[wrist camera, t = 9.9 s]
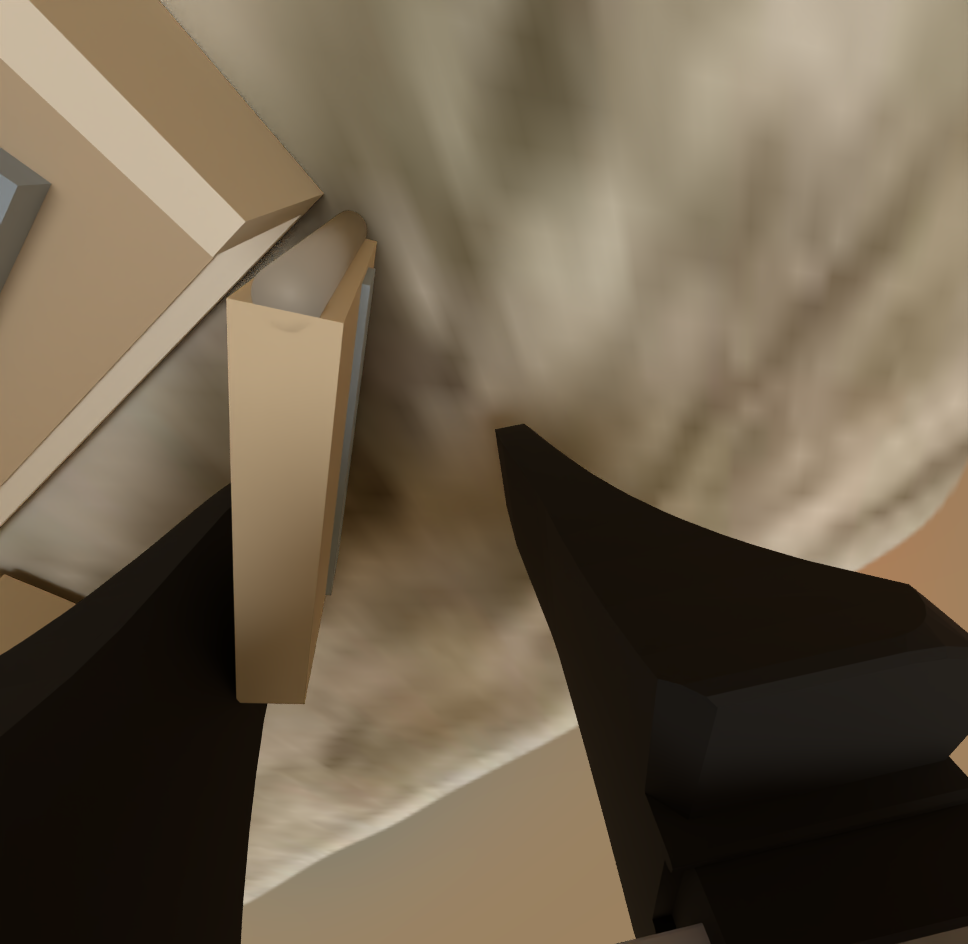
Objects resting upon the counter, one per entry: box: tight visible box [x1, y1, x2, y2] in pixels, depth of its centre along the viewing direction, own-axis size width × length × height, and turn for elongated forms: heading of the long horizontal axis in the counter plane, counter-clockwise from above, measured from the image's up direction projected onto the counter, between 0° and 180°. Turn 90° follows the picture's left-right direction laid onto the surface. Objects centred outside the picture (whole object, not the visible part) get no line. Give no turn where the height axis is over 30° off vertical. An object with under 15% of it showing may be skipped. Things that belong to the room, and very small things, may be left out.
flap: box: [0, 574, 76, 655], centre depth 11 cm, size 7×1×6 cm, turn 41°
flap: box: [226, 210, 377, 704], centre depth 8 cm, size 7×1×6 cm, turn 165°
